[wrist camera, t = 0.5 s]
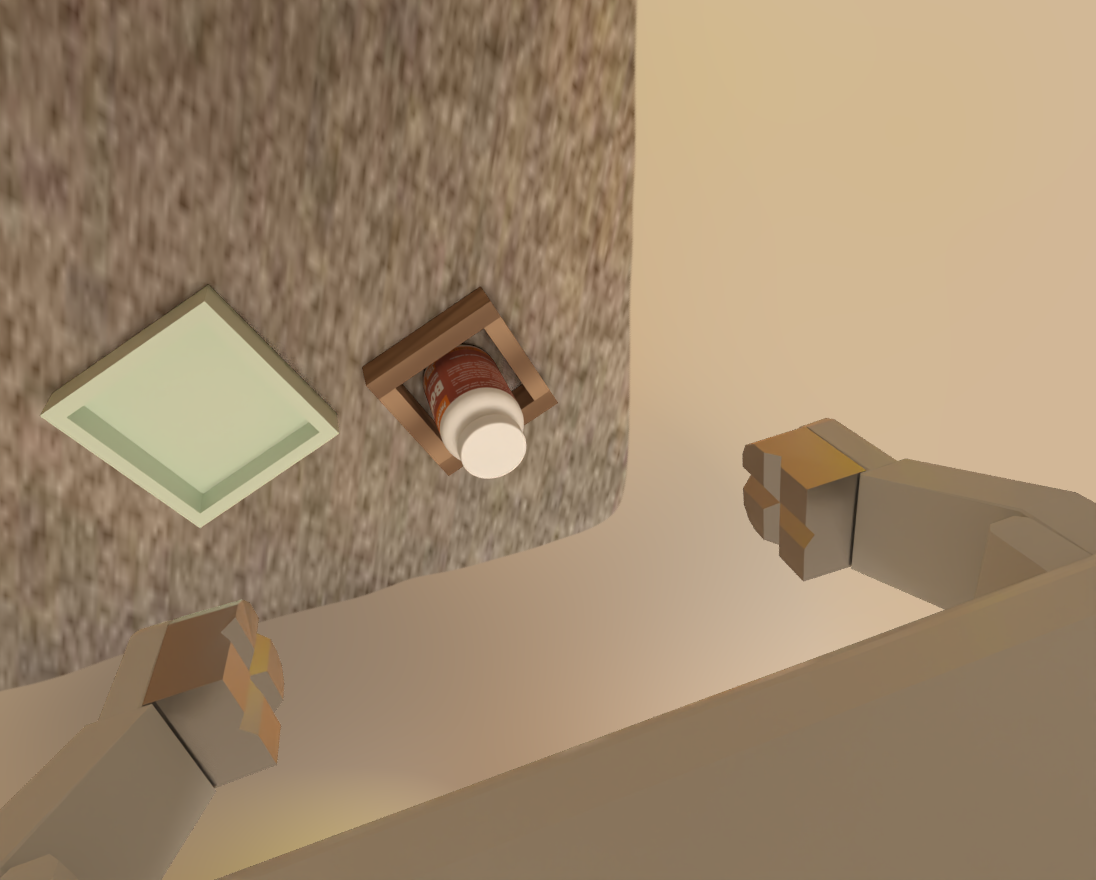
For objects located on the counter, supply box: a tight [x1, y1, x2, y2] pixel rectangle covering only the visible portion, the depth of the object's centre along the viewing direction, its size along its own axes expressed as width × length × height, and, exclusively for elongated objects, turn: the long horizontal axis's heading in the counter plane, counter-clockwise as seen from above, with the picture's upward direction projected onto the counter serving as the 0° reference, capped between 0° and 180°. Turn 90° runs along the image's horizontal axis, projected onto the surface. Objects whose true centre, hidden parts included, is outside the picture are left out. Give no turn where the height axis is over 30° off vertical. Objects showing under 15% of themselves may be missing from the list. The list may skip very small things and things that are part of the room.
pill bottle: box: [423, 345, 526, 478], centre depth 49 cm, size 6×6×11 cm
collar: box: [362, 287, 558, 476], centre depth 52 cm, size 11×11×3 cm
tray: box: [40, 284, 339, 528], centre depth 47 cm, size 13×13×3 cm
